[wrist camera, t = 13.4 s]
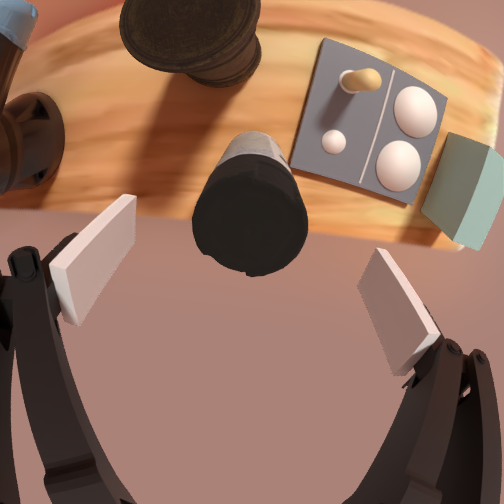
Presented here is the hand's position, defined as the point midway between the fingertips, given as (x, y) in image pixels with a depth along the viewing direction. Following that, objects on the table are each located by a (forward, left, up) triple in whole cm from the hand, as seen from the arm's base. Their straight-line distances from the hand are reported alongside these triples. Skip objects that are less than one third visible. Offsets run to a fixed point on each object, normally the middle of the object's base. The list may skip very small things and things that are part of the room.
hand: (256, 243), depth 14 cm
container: (-7, +12, -21) cm, 25 cm away
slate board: (+13, +9, -21) cm, 26 cm away
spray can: (0, 0, -21) cm, 21 cm away
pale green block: (+29, +6, -21) cm, 36 cm away
